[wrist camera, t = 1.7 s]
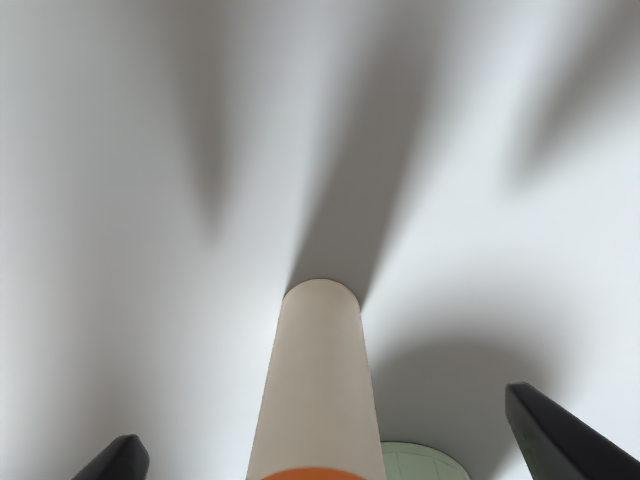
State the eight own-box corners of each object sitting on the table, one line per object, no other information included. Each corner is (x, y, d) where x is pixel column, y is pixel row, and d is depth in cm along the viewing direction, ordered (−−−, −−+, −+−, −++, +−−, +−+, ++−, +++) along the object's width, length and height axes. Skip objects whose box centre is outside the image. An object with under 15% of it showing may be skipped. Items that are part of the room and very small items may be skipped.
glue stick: (368, 339, 13) (425, 674, 5) (289, 351, 13) (242, 685, 6) (355, 268, 12) (405, 571, 4) (268, 283, 12) (177, 593, 5)
